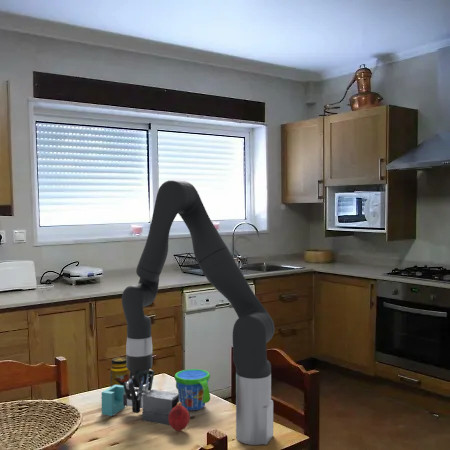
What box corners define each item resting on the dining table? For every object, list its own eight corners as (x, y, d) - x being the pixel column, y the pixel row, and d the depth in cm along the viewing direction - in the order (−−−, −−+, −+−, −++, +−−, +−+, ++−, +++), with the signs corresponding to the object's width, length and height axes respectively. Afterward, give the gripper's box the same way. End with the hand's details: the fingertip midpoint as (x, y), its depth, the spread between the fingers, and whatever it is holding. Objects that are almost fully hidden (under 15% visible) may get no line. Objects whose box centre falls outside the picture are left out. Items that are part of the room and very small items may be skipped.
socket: (125, 407, 154) (124, 385, 154) (111, 416, 148) (111, 393, 148) (115, 405, 156) (115, 384, 155) (101, 414, 149) (101, 392, 149)
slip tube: (171, 408, 146) (171, 396, 146) (165, 412, 143) (165, 401, 143) (129, 401, 151) (129, 390, 151) (123, 405, 148) (123, 394, 148)
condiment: (126, 400, 160) (125, 362, 160) (100, 398, 162) (100, 361, 161) (133, 391, 168) (133, 356, 167) (109, 390, 169) (109, 354, 168)
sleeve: (180, 417, 147) (179, 393, 147) (170, 425, 141) (170, 400, 141) (152, 412, 150) (152, 389, 150) (142, 420, 145) (142, 396, 144)
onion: (186, 437, 134) (186, 407, 134) (165, 435, 135) (165, 405, 135) (192, 427, 140) (192, 399, 139) (172, 426, 141) (172, 397, 141)
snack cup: (166, 401, 159) (166, 369, 158) (196, 395, 164) (195, 364, 164) (188, 419, 145) (188, 384, 145) (220, 412, 151) (220, 378, 150)
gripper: (137, 359, 140) (138, 421, 140) (162, 346, 153) (162, 403, 153) (114, 356, 143) (115, 417, 143) (140, 344, 156) (141, 399, 156)
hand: (139, 409), depth 148 cm, fingers closed on slip tube, 3 cm apart
